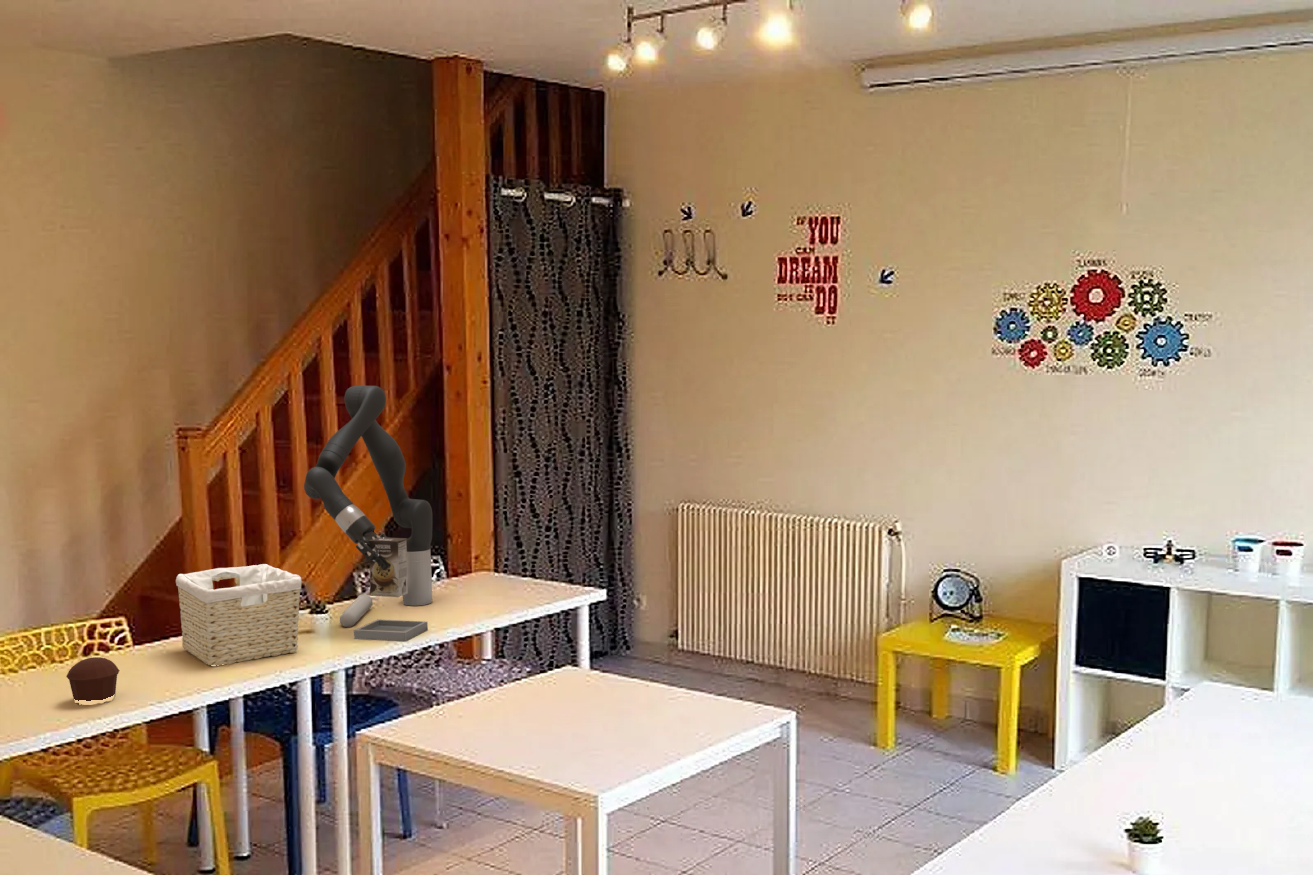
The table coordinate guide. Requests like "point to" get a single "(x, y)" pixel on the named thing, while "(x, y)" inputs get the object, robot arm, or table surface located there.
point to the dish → (390, 630)
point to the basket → (239, 613)
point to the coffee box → (389, 568)
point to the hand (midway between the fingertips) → (393, 565)
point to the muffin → (93, 679)
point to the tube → (356, 610)
